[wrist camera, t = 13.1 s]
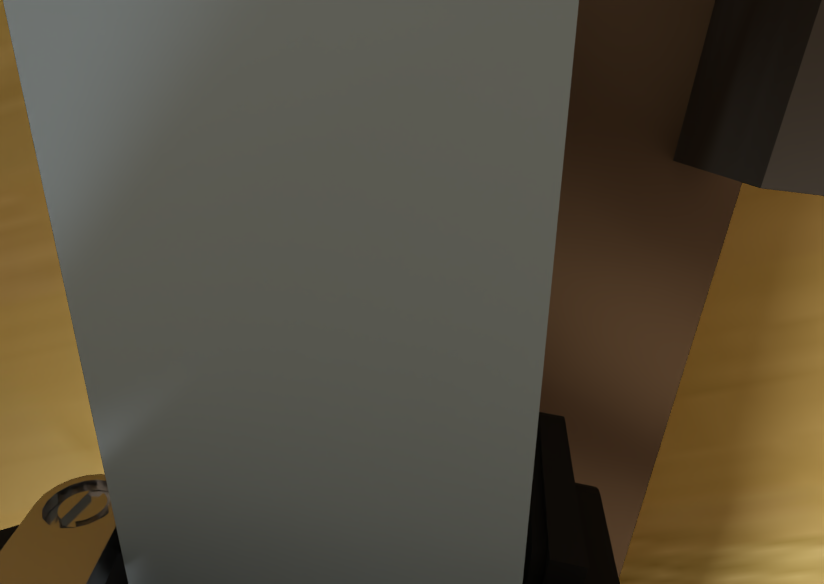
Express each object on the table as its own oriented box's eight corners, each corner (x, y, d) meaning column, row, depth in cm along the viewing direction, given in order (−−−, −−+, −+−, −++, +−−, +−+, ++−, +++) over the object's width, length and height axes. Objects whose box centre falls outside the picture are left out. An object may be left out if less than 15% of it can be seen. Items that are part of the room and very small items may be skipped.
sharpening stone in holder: (558, 724, 19) (575, 953, 14) (225, 637, 21) (129, 811, 16) (837, -211, 10) (1183, -557, 5) (204, -227, 12) (-40, -493, 7)
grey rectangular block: (489, 732, 15) (472, 1090, 10) (322, 697, 16) (220, 1009, 10) (554, -88, 9) (621, -438, 3) (271, -72, 10) (-67, -325, 4)
